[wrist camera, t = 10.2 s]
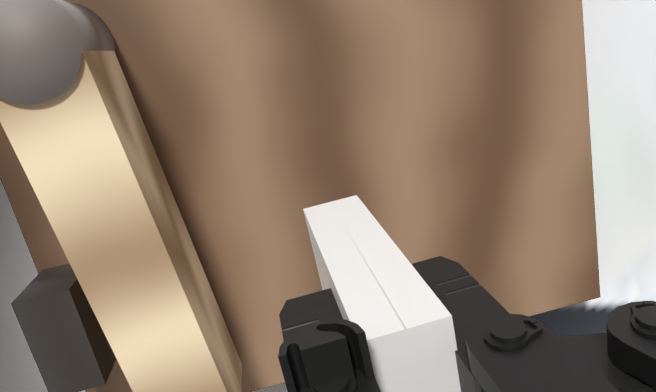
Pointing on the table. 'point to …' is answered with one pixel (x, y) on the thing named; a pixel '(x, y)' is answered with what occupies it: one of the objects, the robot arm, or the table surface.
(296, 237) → the board
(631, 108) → the table surface
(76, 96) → the stool leg
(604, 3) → the table surface
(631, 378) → the robot arm
